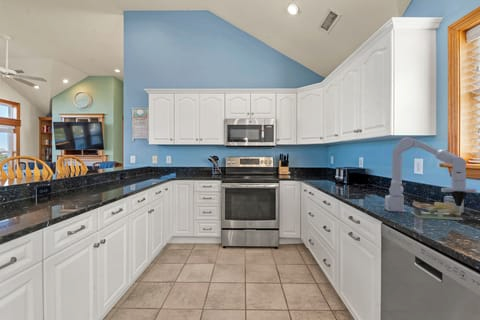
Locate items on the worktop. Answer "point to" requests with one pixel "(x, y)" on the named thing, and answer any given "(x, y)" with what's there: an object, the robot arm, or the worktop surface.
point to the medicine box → (453, 203)
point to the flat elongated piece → (436, 208)
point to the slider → (442, 205)
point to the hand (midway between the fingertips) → (458, 205)
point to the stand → (435, 215)
